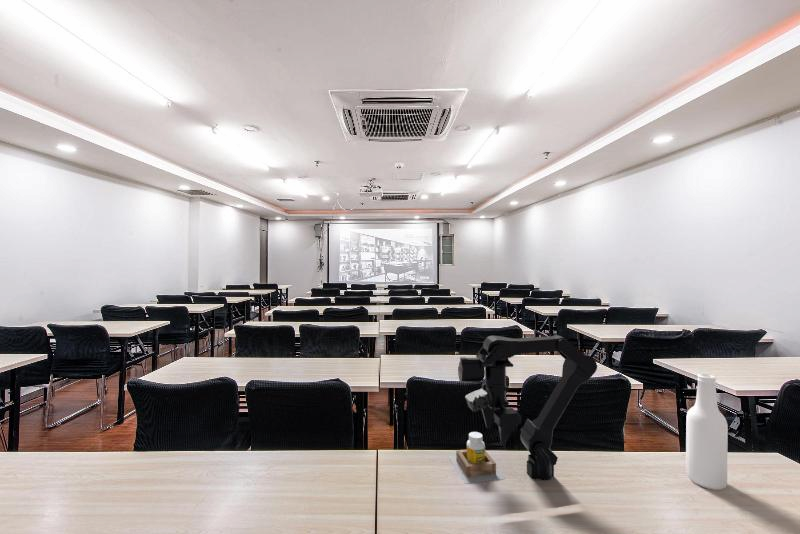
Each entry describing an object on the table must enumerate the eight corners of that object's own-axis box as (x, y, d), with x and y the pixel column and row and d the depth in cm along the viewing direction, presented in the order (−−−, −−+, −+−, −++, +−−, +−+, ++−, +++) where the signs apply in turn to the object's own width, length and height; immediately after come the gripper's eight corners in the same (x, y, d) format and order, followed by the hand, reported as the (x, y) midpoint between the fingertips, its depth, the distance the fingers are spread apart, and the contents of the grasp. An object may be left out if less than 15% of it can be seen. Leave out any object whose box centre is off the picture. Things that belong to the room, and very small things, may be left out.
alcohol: (692, 468, 106) (693, 369, 105) (731, 484, 98) (732, 377, 98) (680, 478, 101) (681, 374, 100) (721, 495, 93) (721, 382, 93)
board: (484, 456, 113) (484, 452, 113) (505, 482, 99) (505, 478, 99) (448, 460, 111) (448, 456, 111) (464, 487, 97) (464, 483, 97)
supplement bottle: (475, 459, 108) (475, 428, 108) (488, 468, 104) (488, 436, 104) (462, 465, 105) (462, 433, 105) (475, 474, 101) (475, 441, 101)
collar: (483, 457, 110) (483, 447, 110) (495, 473, 101) (495, 463, 101) (456, 460, 108) (456, 450, 108) (466, 477, 100) (466, 466, 100)
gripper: (457, 373, 108) (457, 423, 108) (482, 395, 90) (482, 456, 90) (491, 370, 110) (491, 420, 110) (522, 392, 92) (522, 451, 92)
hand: (495, 435), depth 101 cm, fingers open, 9 cm apart
